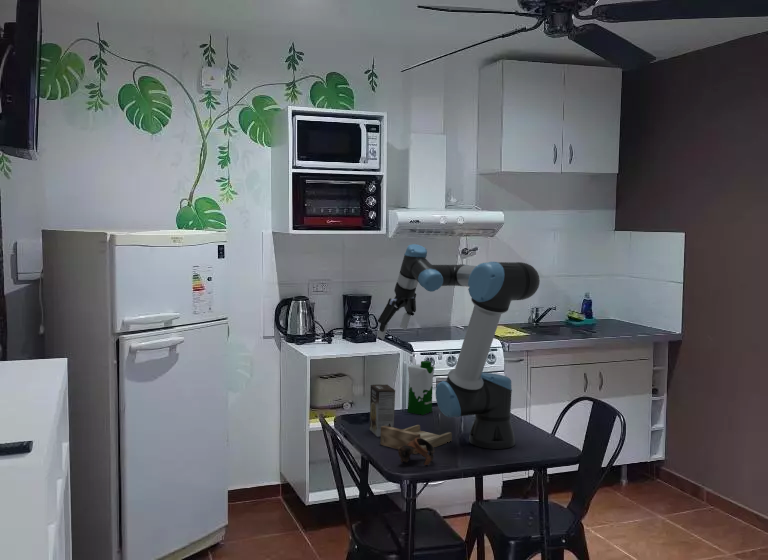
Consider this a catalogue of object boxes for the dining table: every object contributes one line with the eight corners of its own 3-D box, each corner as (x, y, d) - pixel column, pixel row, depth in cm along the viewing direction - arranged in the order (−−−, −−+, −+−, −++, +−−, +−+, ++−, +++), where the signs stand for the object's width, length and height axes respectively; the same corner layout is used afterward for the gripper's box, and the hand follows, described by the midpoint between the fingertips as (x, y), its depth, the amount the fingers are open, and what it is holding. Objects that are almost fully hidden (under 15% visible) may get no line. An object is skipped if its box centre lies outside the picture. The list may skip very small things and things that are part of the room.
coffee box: (368, 429, 251) (370, 384, 250) (386, 428, 253) (387, 383, 252) (376, 437, 242) (377, 390, 241) (394, 435, 244) (395, 389, 243)
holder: (451, 441, 240) (452, 423, 239) (416, 454, 224) (416, 435, 224) (417, 432, 249) (417, 415, 248) (380, 444, 233) (380, 426, 233)
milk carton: (423, 416, 272) (425, 364, 271) (403, 412, 277) (405, 361, 276) (435, 411, 279) (437, 361, 278) (415, 408, 284) (417, 358, 283)
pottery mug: (412, 456, 224) (425, 435, 222) (429, 477, 217) (443, 456, 215) (386, 454, 215) (399, 432, 214) (403, 475, 209) (417, 453, 207)
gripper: (419, 273, 271) (404, 319, 281) (377, 287, 253) (363, 336, 262) (434, 282, 268) (419, 329, 277) (392, 297, 249) (378, 347, 258)
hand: (392, 332), depth 270 cm, fingers open, 13 cm apart
